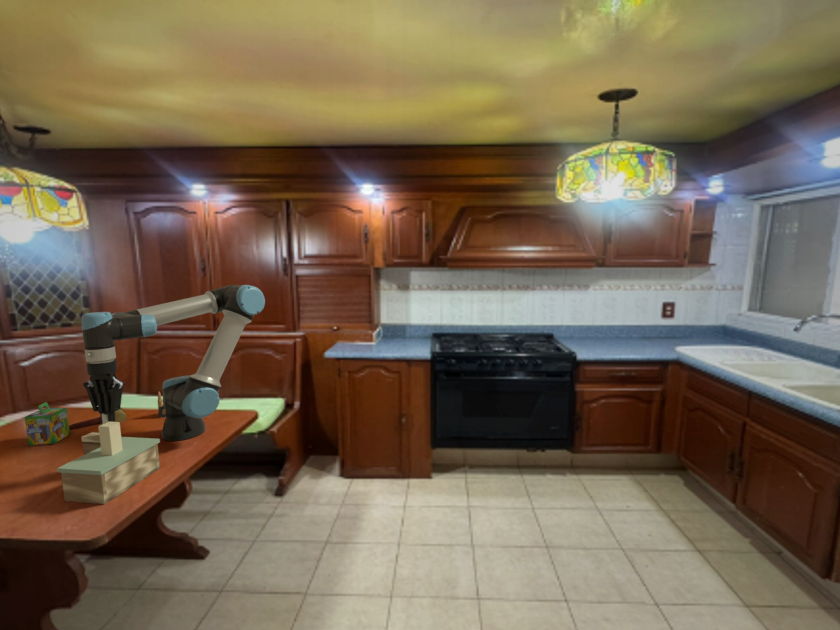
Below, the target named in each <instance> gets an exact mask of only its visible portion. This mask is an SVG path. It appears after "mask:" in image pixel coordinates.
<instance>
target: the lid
mask: <svg viewBox="0 0 840 630" xmlns="http://www.w3.org/2000/svg"><path fill="white" fill-rule="evenodd" d="M120 423H121V422H107V423H105V424H103V425H100V424H99V425H100V426H98V425H97V426H98V427H97V428H98V433H99V436H100V445H101V447H100V448H98V449H96V450H94V451H92V452H90V453H87V454H85V455H84V454H83V455H82V456H79V457H77V458H76V459H73V460H71V461H69V462H67V463H65V464H63V465H61V466H59V467H57V469H56V471H57V473H75V474H90V475H103V474H104V473H106V472H108V471H110V470H111V469H113V468H115V467H117V466H119V465H120V464H122V463H124V462H126V461H127V460H129V459H131V458H133V457H135V456H136V455H138V454H140V453H142V452H143V451H145V450H147V449H149V448H151V447H152V446H154V445H156V444H159V443H161V439H160V438H156V437H155V438H150V437H132V436H122V433H121V424H120Z"/></svg>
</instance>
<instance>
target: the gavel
mask: <svg viewBox="0 0 840 630" xmlns="http://www.w3.org/2000/svg"><path fill="white" fill-rule="evenodd" d="M126 420H127V414H126V413H125V409H124V408H123V407H120V409H119V410H117V411H115V422H120V423H123V422H125V421H126ZM99 424H102V422H101V417H100V416H99V417H95V418H91V419H87V420H83V421H79V422H75V423H71V424H69V428H70V431H73V430H78V429H81V428H82V429H83V428H86V427H90V426H91V427H92V426H94V425H99Z"/></svg>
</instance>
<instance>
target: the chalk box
mask: <svg viewBox="0 0 840 630" xmlns="http://www.w3.org/2000/svg"><path fill="white" fill-rule="evenodd" d="M37 406H38V410H37V411H35V412H32V413H30V414H28V415H26V416H25V417H24V418H23V419H24V423H25V430H26V436H27V443H28V444H27V445H28V446H29V447H31V446H43V445H54V444H57V443H58V442H60V441H62V440H64V439H66V438H68V436H70V435H71V430H70V428H69V426H70V422H69V412H68V408H67V407H60V408H59V407H55V408H54V407H53V408H50V406H49V403H48V402H46V401H45V402H43V403H41V404H39V405H37ZM43 407H46V408H45V409H43Z"/></svg>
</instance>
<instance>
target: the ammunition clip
mask: <svg viewBox="0 0 840 630" xmlns="http://www.w3.org/2000/svg"><path fill="white" fill-rule="evenodd" d="M161 394H162V393H161V392H160V391H158V393H157V409H158V418H159V419H162V418H161V417H163V418H165V407H164V397H163V396H162V395H161Z"/></svg>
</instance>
